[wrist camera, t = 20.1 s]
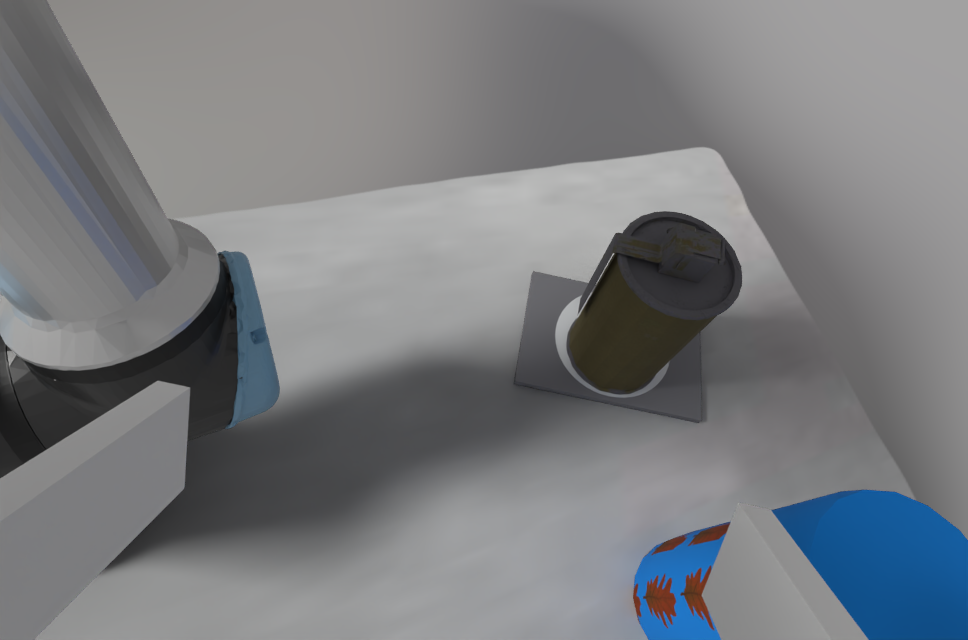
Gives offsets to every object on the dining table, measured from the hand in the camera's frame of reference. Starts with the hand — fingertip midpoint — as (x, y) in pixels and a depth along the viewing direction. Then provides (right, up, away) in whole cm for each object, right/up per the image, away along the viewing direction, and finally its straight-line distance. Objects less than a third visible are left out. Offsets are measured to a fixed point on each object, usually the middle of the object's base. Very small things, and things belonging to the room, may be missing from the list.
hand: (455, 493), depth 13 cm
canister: (+15, +1, +47) cm, 49 cm away
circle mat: (+15, +1, +48) cm, 50 cm away
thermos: (+19, -22, +37) cm, 47 cm away
